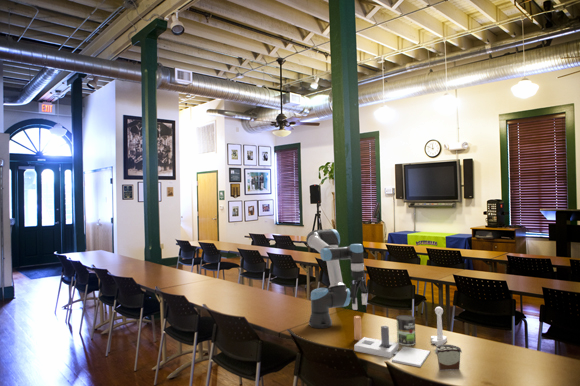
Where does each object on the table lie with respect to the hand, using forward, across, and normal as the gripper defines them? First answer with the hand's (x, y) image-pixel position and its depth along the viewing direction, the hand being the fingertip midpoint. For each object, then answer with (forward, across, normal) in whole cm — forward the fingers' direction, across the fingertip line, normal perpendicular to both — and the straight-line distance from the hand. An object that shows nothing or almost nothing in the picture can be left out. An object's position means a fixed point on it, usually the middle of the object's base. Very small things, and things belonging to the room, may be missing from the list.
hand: (359, 307), depth 227 cm
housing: (+20, -9, -13) cm, 25 cm away
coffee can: (+20, +9, -23) cm, 32 cm away
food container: (+22, -13, -50) cm, 56 cm away
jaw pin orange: (+19, 0, +2) cm, 19 cm away
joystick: (+20, +18, -38) cm, 47 cm away
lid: (+21, -10, -31) cm, 38 cm away
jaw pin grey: (+20, -9, -18) cm, 28 cm away
